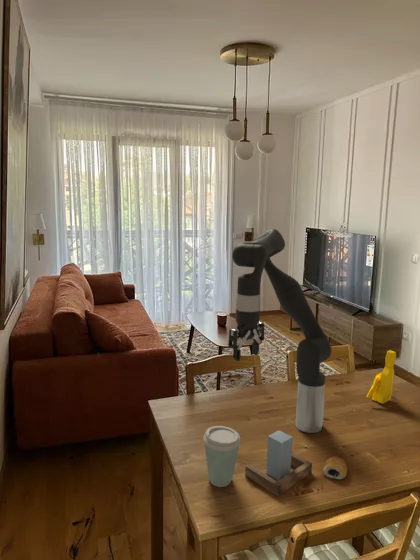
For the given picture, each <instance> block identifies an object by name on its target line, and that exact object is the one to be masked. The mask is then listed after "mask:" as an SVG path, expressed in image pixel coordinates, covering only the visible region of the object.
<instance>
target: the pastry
mask: <svg viewBox="0 0 420 560" xmlns="http://www.w3.org/2000/svg"><path fill="white" fill-rule="evenodd" d="M322 474H323V476H326V478H330V479H335V480H343V479H345V478H346V477H347V475H348V466H347V464H346V461H345V459H343V458H341V457H339V456H336V455H335V456H331V457H329V458H327V459H326V460H325V462H324V464H323V469H322Z"/></svg>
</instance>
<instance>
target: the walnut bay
mask: <svg viewBox="0 0 420 560" xmlns="http://www.w3.org/2000/svg"><path fill="white" fill-rule="evenodd" d="M292 466H293V467H295V469H294V470H292V471H291V472H290V473H289V474H288V475H286V476H285V477H283V478H282V479H280V480H279V481H278V480H276V479H275V478H273V477H271V476H270V475H268V474H266V473H265V472H262V471H261V470H259V469H258V468H256V467H254V466H252V465H251V464H247V465H246V466H245V471H244V472H245V474H244V476H245V477H247V478H249V479H250V480H251V481H253V482H254V483H255V484H257V485H259V486H261V487H262V488H264V489H265V490H266V491H268V492H270V493H272V494H273V495H275V496H276V497H279V496H281V495H282V494H284V493H285V492H286V491H287V490H289V489H290V488H292V487H293V486H294V485H296V484H297V483H299V482H300V481H302V480H303V479H304V478H306V477H308V475H310V474H311V473H312V471H313V469H312V468H313V463H312V462H311V461H308V460H306V459H305V458H304V457H301V456H299V455H297V454H296V453H293V452H292V455H291V467H292Z"/></svg>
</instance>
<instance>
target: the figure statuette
mask: <svg viewBox="0 0 420 560" xmlns="http://www.w3.org/2000/svg"><path fill="white" fill-rule="evenodd" d="M396 357H397V352H396V351H393V350H391V349H389V350H387V352H386V355H385V358H384V359H385V361H384V362H385V365H384V367H383V369H382V371H381V372H379V373H377V374H375V378H374V379H373V380H372V381H373V383H372V385H371V387H370V389H369V391H368V392H367V395H366V396H365V397H366V398H367V399H368V400H370V399H372V401H374V402H377V403H379V404H381V405H383V404H385V403H387V402H388V401H390V400H391V397H392V393H393V382H394V377H395V370H394V365H395V362H396V359H397V358H396ZM371 397H372V398H371Z"/></svg>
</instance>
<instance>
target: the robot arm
mask: <svg viewBox="0 0 420 560" xmlns="http://www.w3.org/2000/svg"><path fill="white" fill-rule="evenodd" d="M285 247H286V242H285V239H284V237H283V235H282V233H281V232H280V231H279V230H277V229H276V228H271V229H268V230H267V231H264V232H263V233H261V234H260V235H258V236H256V237H254V238H253V239H252V241H251V242H241V243H238V244H236V245H235V247H234V248H233V250H232V253H231V254H232V256H231V257H232V261H233V262H234V264H235V265H236V266H237V267H238V266H239V267H242V268H243V267H244V268H245V267H246V268H254V269H253V271H252V272H250V273H246V274H245V273H243V274H241V275H239V276H238V278H237V290H236V291H237V294H236V304H235V322H236V324H237V326H236V328H230V329H229V332H228V343H227V344H228V345H227V346H228V348H230V349H232V350H233V352H232V353H233V354H232V358H233V360H235V361H236V362H240V361H241V352H242V350H241V348H242V346H243V345H244V344H245V343H246V342H247V341H248V340H252V342H251V354H253V355H255V356H257V355H259V352H260V343H261V342H262V341H264V340H265V323H264V322H261V320H260V319H261V318H260V317H261V279H262V275H263V273H264V271H265V272H266V274H267V277H268V279H269V281H270V283H271V286H272V289H273V290H274V293H275V296H276V298H277V299H278V302H279V305H280V307H281V308H282V310H283V311H284V312H285V314H286V315H288V316H289V318H290V319H291V320H293V321H294V322H295V323H296V324H297V326H298V327H299V328H300V330H301V331H302V333H303V336H304V339H302V340H301V341H299V343H298V344H297V348H296V374H297V377H298V379H297V393H296V395H297V396H296V410H295V411H296V413H295V427H296V428H297V430H299V431H301V432H304V433H309V434H313V433H314V434H316V433H319V432H321V430H322V427H323V426H324V415H325V414H324V412H325V388H326V387H325V385H326V376H325V374H324V373H323V372H322V371H321V370H320V368H321V367H320V366H321V363H322V362H325V361H327V360H329V359H330V358H331V356H332V346H331V344H330V341H329V339H328V337H327V336H326V333H325V332H324V331H323V329H322V327H321V326H320V324H319V322H318V320H317V319H316V317H315V314H314V312H313V310H312V308H311V306H310V304H309V303H308V300H307V298H306V296H305V293H304V292H303V289H302V287H301V285H300V283H299V282H298V280H296V279H295V278H294V277H292V276H291V275H289V274H287V273H286V272H284V271H283V270H281V269H280V268H278V267H277V266H276V265H275V264H274V263H273V261H272V260H271V257H274V256H275V255H277V254H279V253H281V252H282V251H284V249H285Z"/></svg>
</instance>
